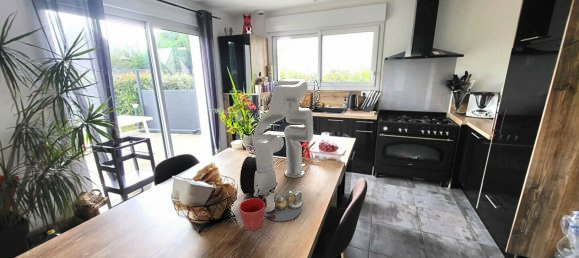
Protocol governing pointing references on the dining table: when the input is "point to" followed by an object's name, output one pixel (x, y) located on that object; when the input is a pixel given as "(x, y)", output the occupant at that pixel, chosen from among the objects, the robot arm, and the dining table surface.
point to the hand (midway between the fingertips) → (267, 202)
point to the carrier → (286, 207)
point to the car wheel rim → (248, 175)
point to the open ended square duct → (269, 201)
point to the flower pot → (252, 213)
